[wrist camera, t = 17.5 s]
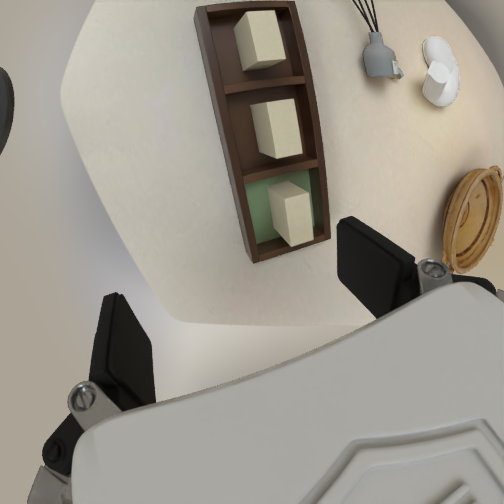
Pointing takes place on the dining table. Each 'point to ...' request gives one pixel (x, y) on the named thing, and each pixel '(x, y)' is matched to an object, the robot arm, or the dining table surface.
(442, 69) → the sculpture
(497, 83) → the dining table surface
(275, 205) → the cream rectangular block
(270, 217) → the tray
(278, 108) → the block
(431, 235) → the dining table surface
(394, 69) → the reed diffuser
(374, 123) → the dining table surface
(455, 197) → the ceramic bowl
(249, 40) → the block
